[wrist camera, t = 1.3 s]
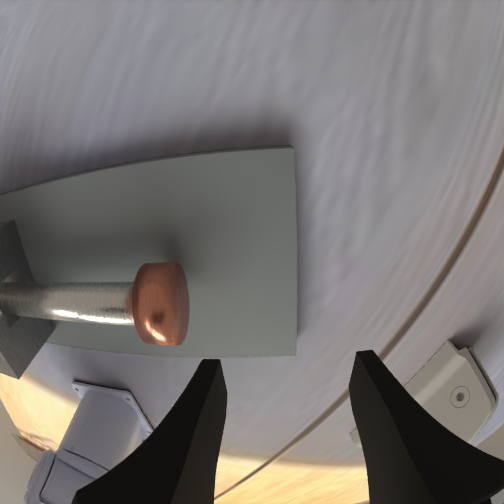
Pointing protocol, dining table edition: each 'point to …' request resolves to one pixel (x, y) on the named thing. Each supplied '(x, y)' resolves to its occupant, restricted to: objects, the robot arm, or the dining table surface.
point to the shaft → (111, 302)
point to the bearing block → (13, 326)
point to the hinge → (453, 392)
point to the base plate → (175, 245)
